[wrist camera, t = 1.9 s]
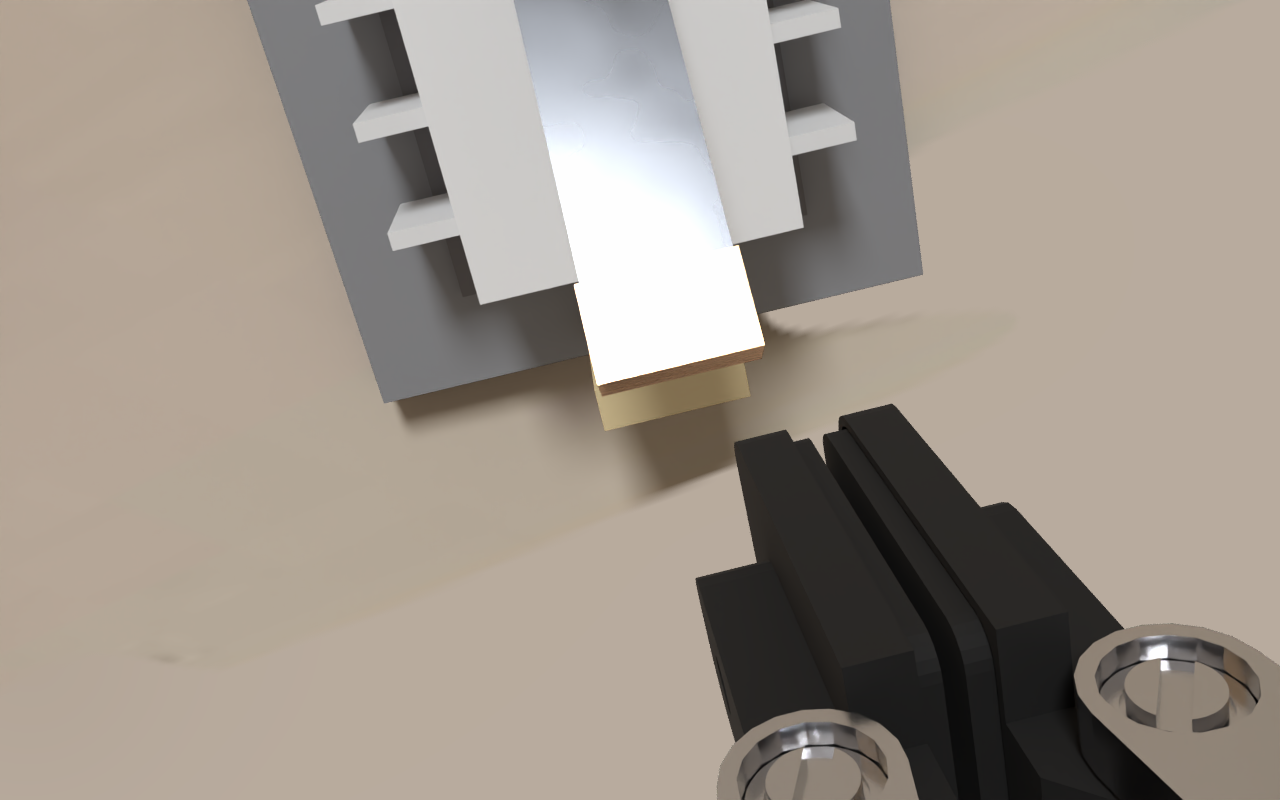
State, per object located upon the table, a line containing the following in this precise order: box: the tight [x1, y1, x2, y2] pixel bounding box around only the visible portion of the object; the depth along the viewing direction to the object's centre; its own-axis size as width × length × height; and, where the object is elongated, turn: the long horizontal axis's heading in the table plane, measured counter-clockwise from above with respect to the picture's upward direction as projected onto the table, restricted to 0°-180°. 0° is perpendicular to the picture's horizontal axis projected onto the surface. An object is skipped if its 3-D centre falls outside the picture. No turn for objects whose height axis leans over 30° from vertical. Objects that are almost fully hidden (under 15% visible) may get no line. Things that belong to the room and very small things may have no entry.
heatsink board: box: [247, 0, 923, 431], centre depth 30 cm, size 18×20×8 cm
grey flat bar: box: [513, 0, 765, 397], centre depth 23 cm, size 16×4×2 cm
